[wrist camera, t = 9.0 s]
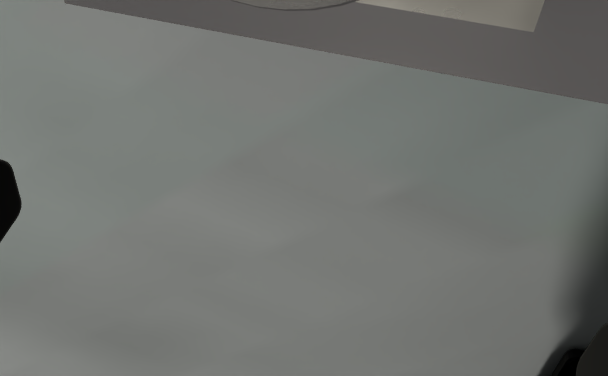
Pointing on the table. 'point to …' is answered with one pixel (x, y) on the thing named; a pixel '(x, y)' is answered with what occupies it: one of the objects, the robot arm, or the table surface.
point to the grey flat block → (425, 35)
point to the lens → (295, 4)
